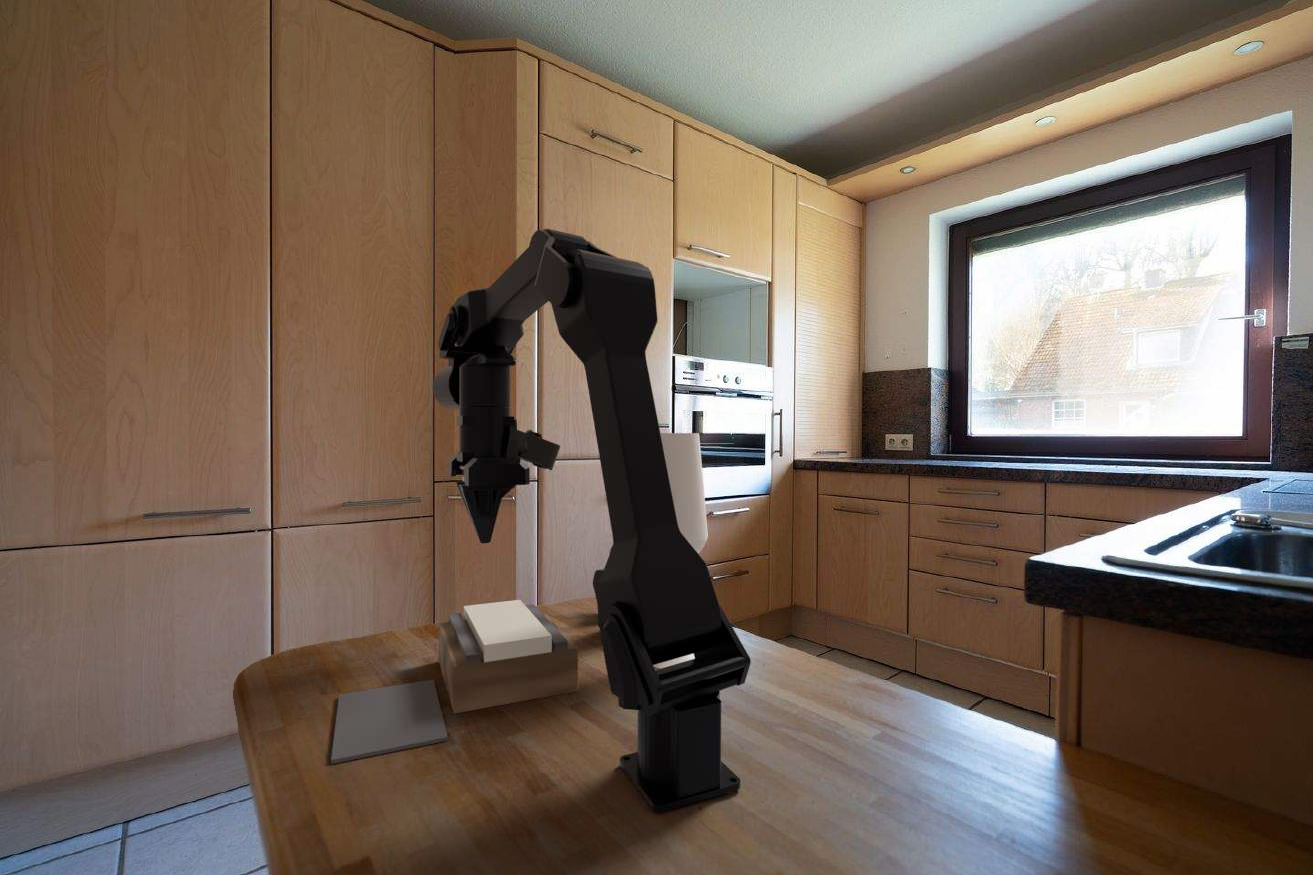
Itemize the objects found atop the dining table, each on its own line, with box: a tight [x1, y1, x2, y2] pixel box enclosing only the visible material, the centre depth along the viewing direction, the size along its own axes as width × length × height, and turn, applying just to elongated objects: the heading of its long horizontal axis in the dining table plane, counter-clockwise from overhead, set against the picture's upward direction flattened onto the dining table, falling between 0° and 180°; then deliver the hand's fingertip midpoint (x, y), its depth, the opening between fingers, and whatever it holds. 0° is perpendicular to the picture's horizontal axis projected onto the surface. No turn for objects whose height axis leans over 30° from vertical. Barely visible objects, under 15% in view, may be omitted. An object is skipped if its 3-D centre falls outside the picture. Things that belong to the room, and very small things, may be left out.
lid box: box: [438, 603, 579, 714], centre depth 60 cm, size 13×11×5 cm
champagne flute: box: [653, 432, 709, 669], centre depth 65 cm, size 7×7×24 cm
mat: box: [330, 679, 449, 765], centre depth 51 cm, size 12×8×1 cm, turn 25°
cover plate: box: [463, 599, 552, 662], centre depth 60 cm, size 13×6×2 cm, turn 25°
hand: (485, 542), depth 70 cm, fingers closed
